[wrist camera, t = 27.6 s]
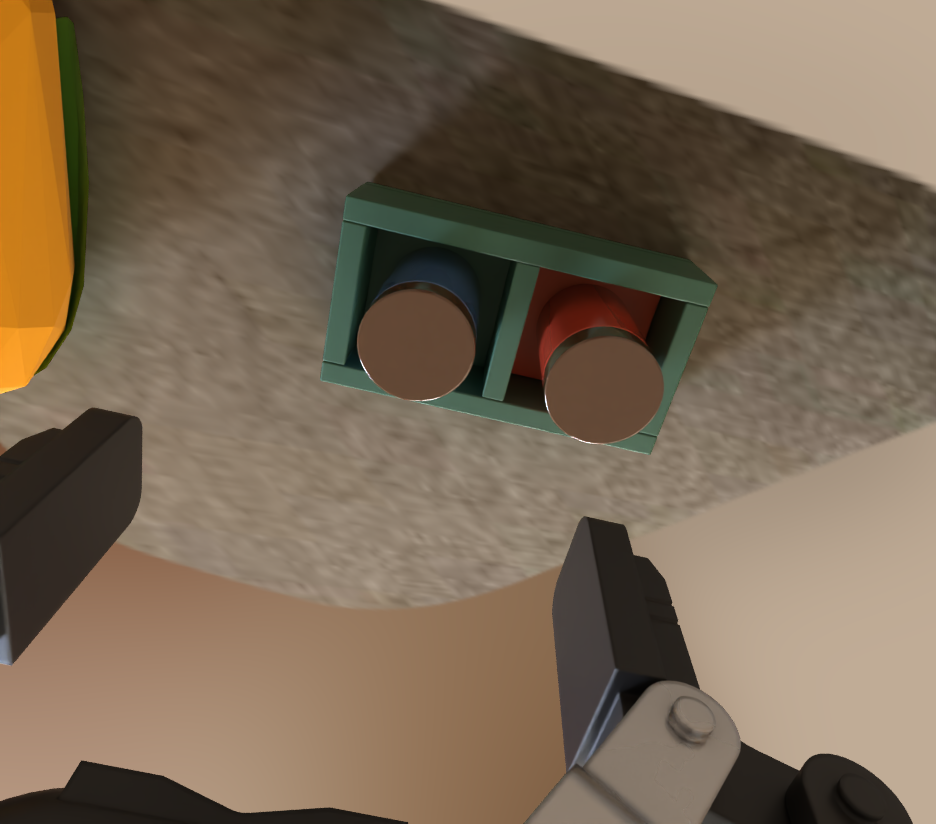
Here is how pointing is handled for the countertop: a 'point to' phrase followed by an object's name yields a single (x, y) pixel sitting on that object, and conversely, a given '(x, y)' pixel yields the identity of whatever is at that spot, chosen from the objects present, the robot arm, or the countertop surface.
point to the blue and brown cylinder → (422, 326)
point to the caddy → (508, 298)
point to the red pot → (596, 366)
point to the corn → (39, 187)
